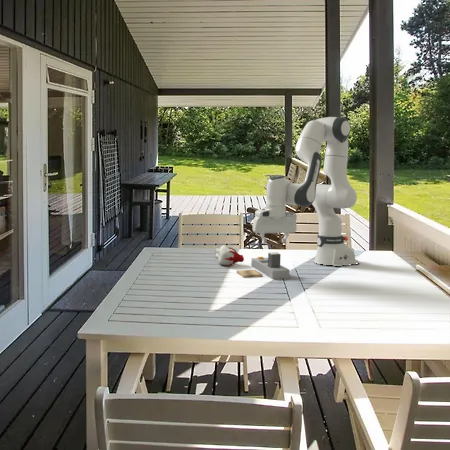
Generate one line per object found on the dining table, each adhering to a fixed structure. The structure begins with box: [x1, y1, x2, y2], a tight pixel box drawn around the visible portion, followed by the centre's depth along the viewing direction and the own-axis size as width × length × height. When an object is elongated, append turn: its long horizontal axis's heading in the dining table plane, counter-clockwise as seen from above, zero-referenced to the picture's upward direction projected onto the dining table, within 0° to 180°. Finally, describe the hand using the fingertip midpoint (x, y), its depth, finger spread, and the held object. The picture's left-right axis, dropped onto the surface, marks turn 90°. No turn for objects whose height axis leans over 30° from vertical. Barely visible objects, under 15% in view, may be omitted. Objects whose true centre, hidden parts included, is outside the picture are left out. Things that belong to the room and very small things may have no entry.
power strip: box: [251, 256, 290, 280], centre depth 253 cm, size 8×32×4 cm, turn 18°
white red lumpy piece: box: [214, 244, 245, 267], centre depth 263 cm, size 9×11×15 cm
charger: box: [267, 251, 281, 268], centre depth 245 cm, size 4×4×7 cm
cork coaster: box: [236, 269, 263, 278], centre depth 244 cm, size 9×9×1 cm
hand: (274, 242), depth 243 cm, fingers open, 8 cm apart
